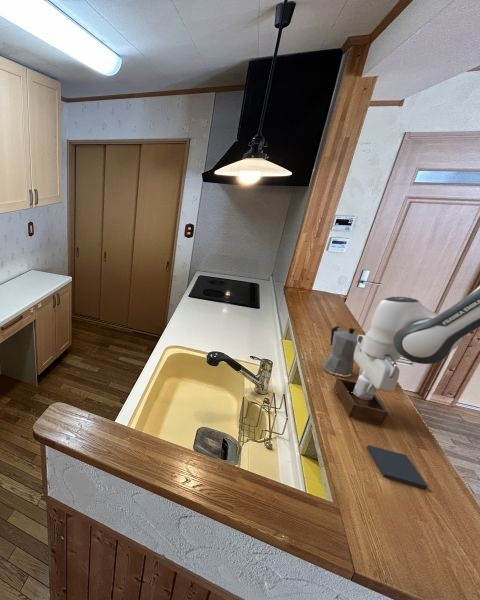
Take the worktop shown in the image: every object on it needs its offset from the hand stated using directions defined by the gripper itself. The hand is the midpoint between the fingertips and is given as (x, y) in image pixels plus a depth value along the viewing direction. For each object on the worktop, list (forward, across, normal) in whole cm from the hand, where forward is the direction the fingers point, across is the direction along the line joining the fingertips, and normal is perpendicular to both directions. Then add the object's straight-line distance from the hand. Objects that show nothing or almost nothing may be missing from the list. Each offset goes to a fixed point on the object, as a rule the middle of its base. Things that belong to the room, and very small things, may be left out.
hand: (365, 387), depth 101 cm
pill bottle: (+3, 0, 0) cm, 3 cm away
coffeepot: (+7, +23, 0) cm, 24 cm away
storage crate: (+7, 0, +1) cm, 7 cm away
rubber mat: (+7, -26, 0) cm, 27 cm away
